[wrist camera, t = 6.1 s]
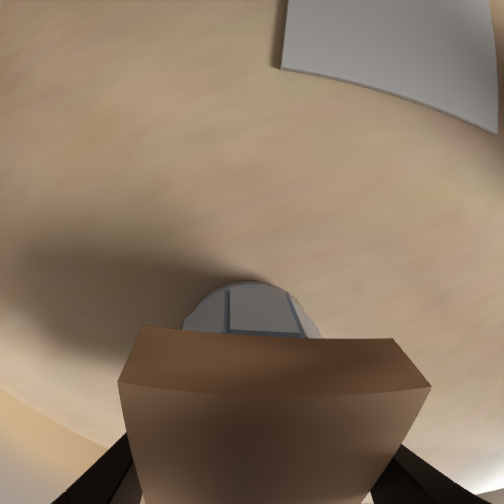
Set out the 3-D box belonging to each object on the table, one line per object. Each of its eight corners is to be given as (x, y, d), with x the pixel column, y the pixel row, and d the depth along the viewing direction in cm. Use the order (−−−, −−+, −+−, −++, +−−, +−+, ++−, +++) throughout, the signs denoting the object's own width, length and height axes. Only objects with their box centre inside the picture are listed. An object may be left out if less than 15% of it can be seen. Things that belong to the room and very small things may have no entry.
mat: (482, -8, 10) (486, -10, 10) (492, 134, 13) (497, 134, 12) (296, -83, 9) (297, -86, 8) (279, 69, 12) (281, 66, 11)
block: (392, 338, 9) (431, 386, 6) (333, 476, 10) (347, 520, 8) (143, 325, 8) (117, 382, 6) (159, 473, 10) (151, 521, 7)
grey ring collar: (319, 284, 14) (353, 333, 10) (297, 385, 16) (315, 447, 12) (187, 273, 14) (170, 323, 9) (185, 379, 15) (174, 444, 11)
